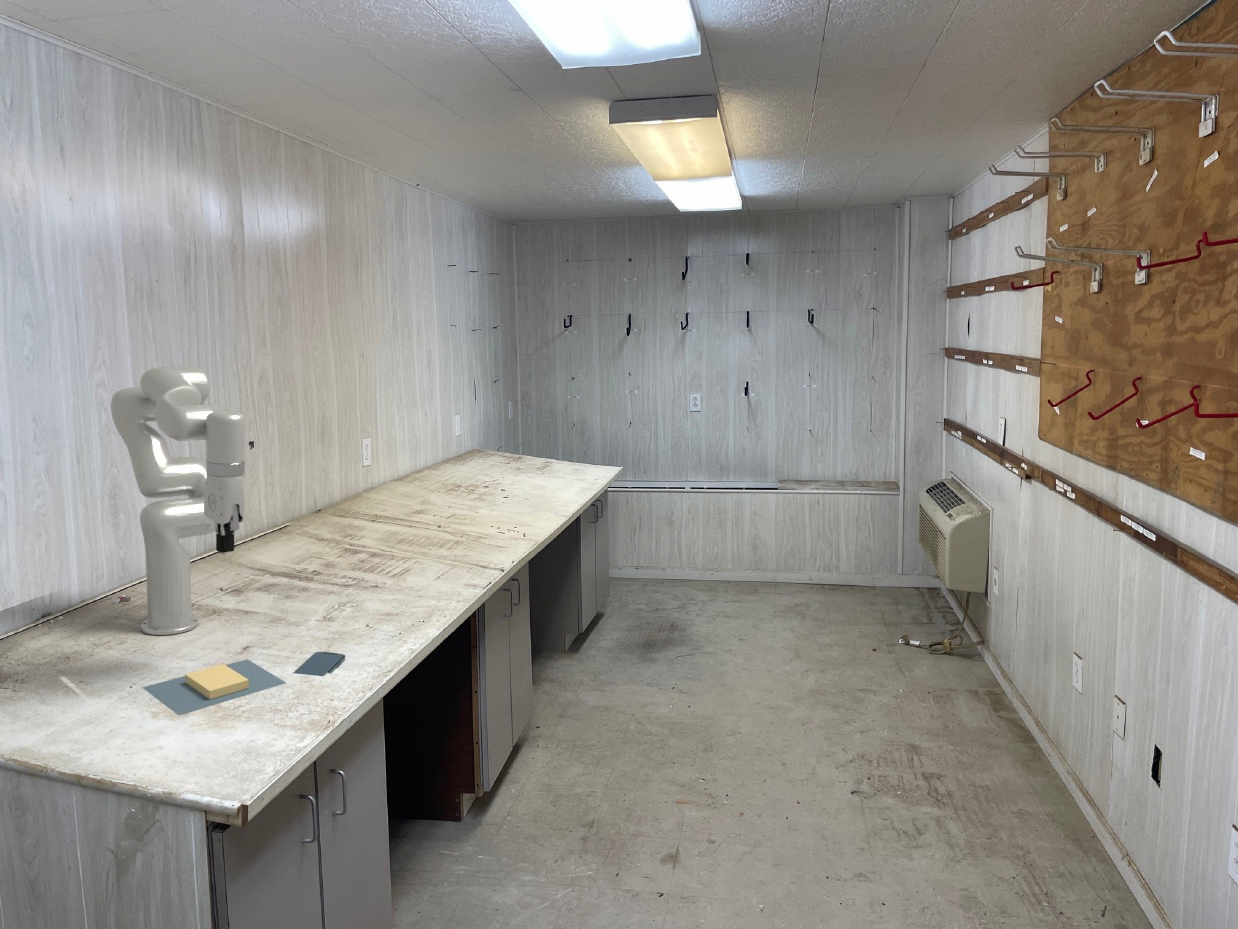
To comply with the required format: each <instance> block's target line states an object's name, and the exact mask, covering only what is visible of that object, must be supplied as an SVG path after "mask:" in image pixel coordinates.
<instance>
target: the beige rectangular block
mask: <svg viewBox="0 0 1238 929" xmlns="http://www.w3.org/2000/svg"><path fill="white" fill-rule="evenodd" d="M226 665H227V664H224V663H222V664H219V665H215V666H211V667H207V668H203V669H200V670H195V671H192V672H188V673H185V675H184V676H185V682H186V683H187V684H188V685H190V686H191V687H193V688H194V689H196V690H197V691H198V692H200V693H201V694H203V695H204V696H206V697H207V698H209V699H213V698H217V697H220V696H223V695H227V694H230V693H234V692H237V691H240V690H244V689H247V688H249V680H248V679H247V678H245V677H243V676H242V675H240V674H239V673H237V672H235V671H234V670H232V669H231V668H229V667H227V666H226Z"/></svg>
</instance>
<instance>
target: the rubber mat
mask: <svg viewBox="0 0 1238 929" xmlns="http://www.w3.org/2000/svg"><path fill="white" fill-rule="evenodd" d="M225 665H226V666H227V667H229V668H231V669H232V670H234V671H235V672H237V673H239V674H240V675H242V676H243V677H245V678H247V679H248V680H249V688H247V689H244V690H240V691H237V692H234V693H230V694H227V695H223V696H220V697H217V698H213V699H209V698H207V697H206V696H204V695H203V694H201V693H200V692H198V691H197V690H196V689H194V688H193V687H191V686H190V685H188V684H187V683H186V682H185V675H184V676H183V675H182V676H180V677H179V676H178V677H175V678H172V679H169V680H165V681H160V682H157V683H153V684H150V685H146V686H143V687H142V689H143V690H145V691H147V693H149V694H150V695H151V696H153V697H154V698H156V700H158V701H160V702H161V703H162V704H164V706H166V707H168V709H170V710H171V711H173V712H174V713H175V714H176V715H178V716H183V715H185V714H188V713H192V712H194V711H198V710H202V709H206V708H208V707H212V706H215V705H218V704H221V703H225V702H228V701H231V700H235V699H239V698H241V697H245V696H248V695H251V694H255V693H258V692H262V691H265V690H267V689H268V690H269V689H272V688H274V687H278V686H282V685H285V684H287V682H286V681H284V680H283V679H281V678H280V677H278V676H277V675H275V674H272V672H269V671H267V670H266V669H264V668H263V667H261V666H259V665H257V664H256V663H255V662H253V661H251V660H249V659H247V658H246V659H243V660H239V661H235V662H232V663H228V664H225Z"/></svg>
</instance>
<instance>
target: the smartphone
mask: <svg viewBox="0 0 1238 929" xmlns="http://www.w3.org/2000/svg"><path fill="white" fill-rule="evenodd" d="M345 661H346V655H345V653H344V654H343V653H338V652H328V651H316V652H314V653H313V654H312V655H311V656H310V657H309V658H308V659H307V660H305V661H304V662H303V663H302V664H301V665H300V666H299V667H298V668H297V669H295V670H294V671H293V672H292V674H296V675H308V676H313V677H315V676H317V677H325V675H327V674H329V675H332V673H333V672H334V671H336V670H337V668H339V666H341V665H342V663H343V662H345Z"/></svg>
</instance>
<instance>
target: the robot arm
mask: <svg viewBox="0 0 1238 929" xmlns="http://www.w3.org/2000/svg"><path fill="white" fill-rule="evenodd" d="M139 382H140V383H139V385H140V386H136V387H135V386H134V387H126V388H123V389H120V390H118V391H116V392H115V393H114V394H113V396H112V397H111V400H110V413H111V417H112V421H113V423H114V426H115V428H116V431H117V432H118V435H119V436H120V437H121V439H122V441H123V443H124V444H125V447H126V448H127V450H128V453H129V458H130V462H131V466H132V469H133V473H134V476H135V480H136V485H137V488H138V490H139V491H140V494H141V495H142V496H144V497H145V498H147V499H148V498H149V499H160V498H161V499H162V498H171V497H183V496H187V497H186V498H185V497H183V498H175V499H165V500H157V501H155V502H151V503H149V504H147V505H145V506H144V507H143V508H142V509H141V511H140V515H139V524H140V528H141V533H142V538H143V543H144V550H145V553H144V554H145V567H146V570H145V572H146V574H145V575H146V599H147V600H146V601H147V603H146V604H147V607H146V608H147V619H145V620H144V621H142V622H141V623H140V630H141V631H142V633H145V634H148V635H154V636H168V635H169V636H171V635H176V634H181V633H185V632H186V633H187V632H189V631H191V630H194V629H195V628H196V627H198V625H199V622H200V620H199V618H198V617H197V616H196V615H194V614H192V579H191V578H192V575H191V574H192V573H191V568H192V567H191V557H190V556H191V555H190V553H189V551H188V549H186V547H184V546H183V545H182V544H181V543H180V540H181V539H185V538H190V537H198V536H206V535H209V534H213V533H215V551H217V552H218V553H220V554H223V553H224V554H225V553H231V552H234V551H235V534H236V531H238V530H240V523H243V521H244V520H245V514H246V512H245V510H246V509H245V507H246V506H245V502H246V501H245V487H244V479H243V477H245V476H246V475H245V474H246V471H245V470H246V468H245V467H246V463H245V462H246V458H245V457H246V418H245V416H244V414H243V413H241V412H239V411H236V410H234V409H233V408H232V407H231V406H229V405H225V404H224V405H223V404H212V405H209V404H207V405H206V404H205V405H204V403H205V402H206V401H207V399H208V397H209V395H210V391H211V383H210V379H209V376H208V375H207V373H206V372H205V371H204V370H203V369H201V368H198V367H195V366H157V367H153V368H150V369H148V370H146V371H145V372H144V373H143V374H142V375H141V378H140V381H139ZM147 422H156V424H157V426H158V428H159V430H160V431H161V432H162V433H163V434H164V435H166V436H167V437H168V438H170V439H171V440H174V441H176V442H193V441H195V442H196V441H205V462H204V461H203V460H202V459H200V458H197V457H195V456H194V457H193V456H183V457H182V456H180V457H173V456H172V455H171V453H170V450H169V446H168V442H167V440H166V439H165V438H164V436H163V435H162V434H160V433H159V431H158V430H157V429H156V428H153V427H152V426H151V425H149V424H148V423H147Z"/></svg>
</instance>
